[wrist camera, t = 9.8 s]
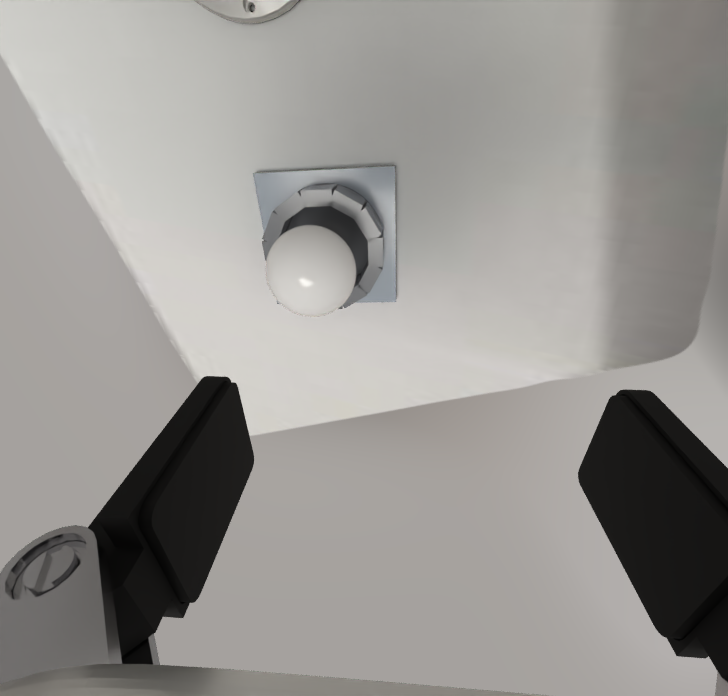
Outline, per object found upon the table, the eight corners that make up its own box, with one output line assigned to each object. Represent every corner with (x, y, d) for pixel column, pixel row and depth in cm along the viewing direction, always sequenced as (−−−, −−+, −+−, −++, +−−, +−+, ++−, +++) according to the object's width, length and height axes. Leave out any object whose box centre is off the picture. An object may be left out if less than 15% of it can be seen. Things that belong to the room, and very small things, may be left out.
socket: (256, 172, 32) (236, 178, 28) (395, 165, 31) (395, 170, 27) (280, 300, 38) (266, 320, 34) (395, 297, 37) (396, 318, 33)
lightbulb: (300, 279, 35) (265, 334, 25) (287, 209, 31) (241, 241, 22) (366, 275, 34) (356, 329, 24) (360, 203, 31) (345, 233, 21)
